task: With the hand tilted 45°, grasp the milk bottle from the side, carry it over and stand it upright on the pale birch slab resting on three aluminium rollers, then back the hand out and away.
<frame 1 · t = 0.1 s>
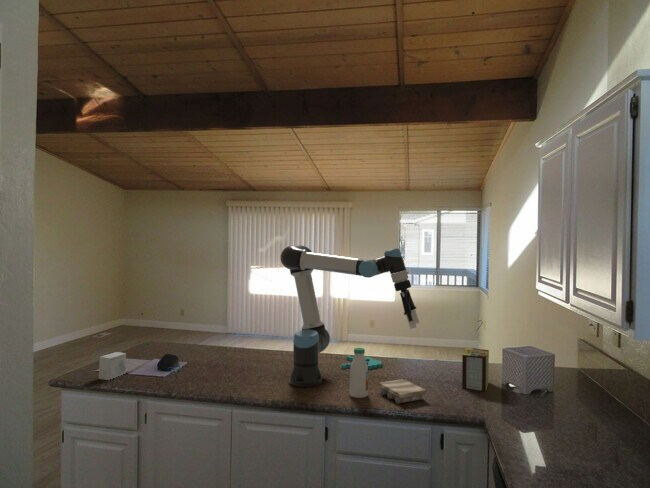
hand: (415, 325, 197), 28 cm above the worktop, tool tilted 20°, fingers open, 13 cm apart
skincare box: (112, 377, 204), on the worktop
milk bottle: (358, 395, 183), on the worktop
roller slab: (401, 396, 182), on the worktop
alien figure: (362, 366, 231), on the worktop
protein box: (475, 385, 199), on the worktop
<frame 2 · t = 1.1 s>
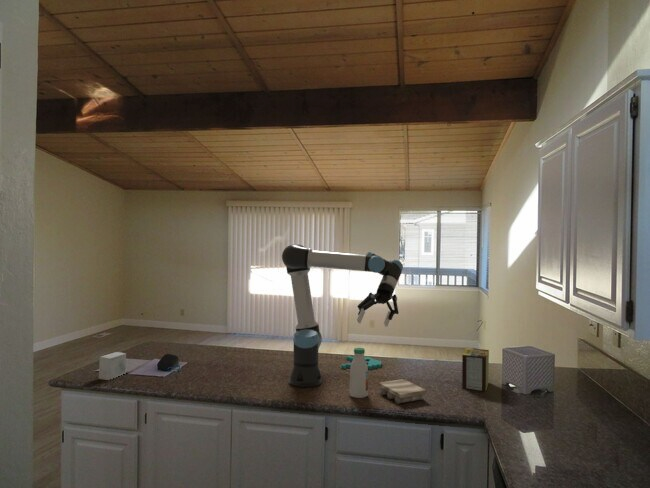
hand: (371, 323, 192), 29 cm above the worktop, tool tilted 45°, fingers open, 13 cm apart
nothing on the worktop moved.
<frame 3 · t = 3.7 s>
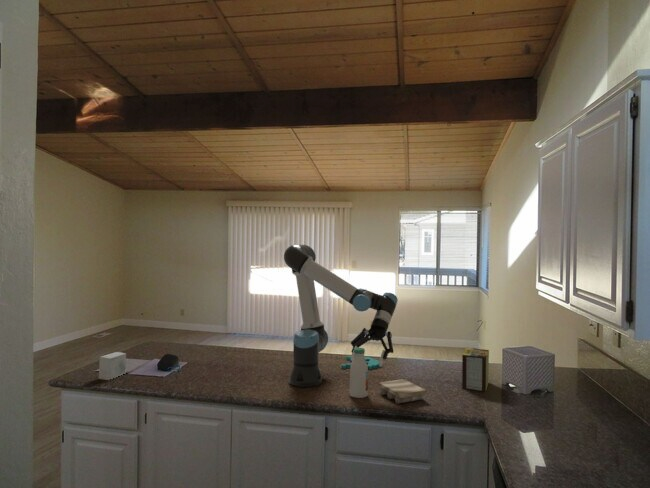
hand: (365, 362, 185), 14 cm above the worktop, tool tilted 45°, fingers open, 13 cm apart
nothing on the worktop moved.
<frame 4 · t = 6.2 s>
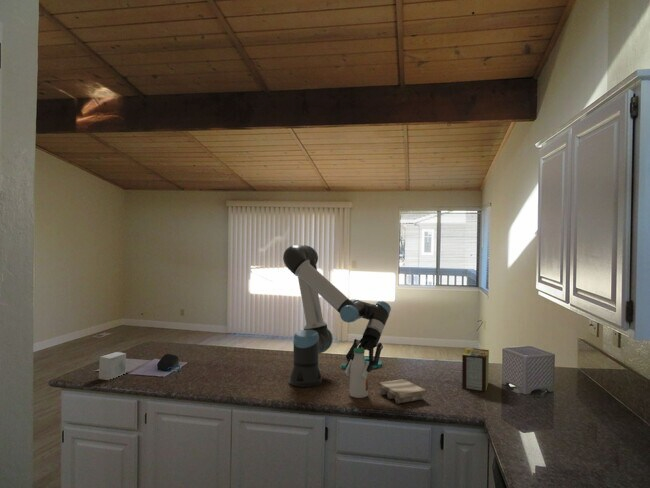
hand: (354, 376, 180), 9 cm above the worktop, tool tilted 45°, fingers closed on milk bottle, 7 cm apart
milk bottle: (358, 395, 183), on the worktop, touching gripper
everything else where it was.
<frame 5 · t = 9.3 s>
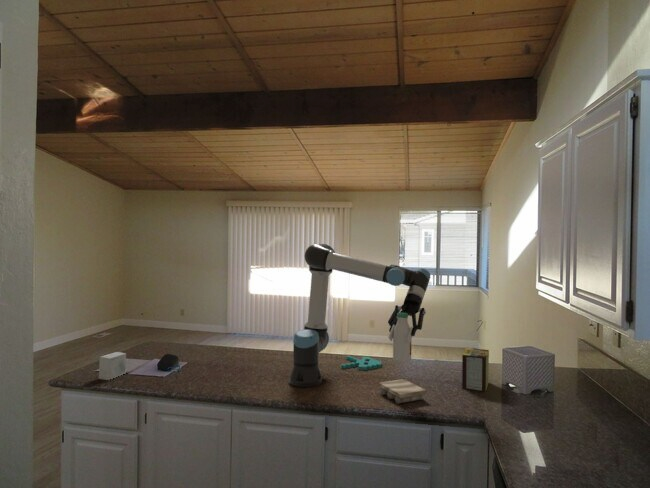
hand: (398, 340, 179), 25 cm above the worktop, tool tilted 45°, fingers closed on milk bottle, 7 cm apart
milk bottle: (402, 360, 182), point 15 cm above the worktop, touching gripper
everything else where it was.
when the fingers open (14 cm above the worktop, at t = 12.5 s): milk bottle stays where it is, resting on roller slab.
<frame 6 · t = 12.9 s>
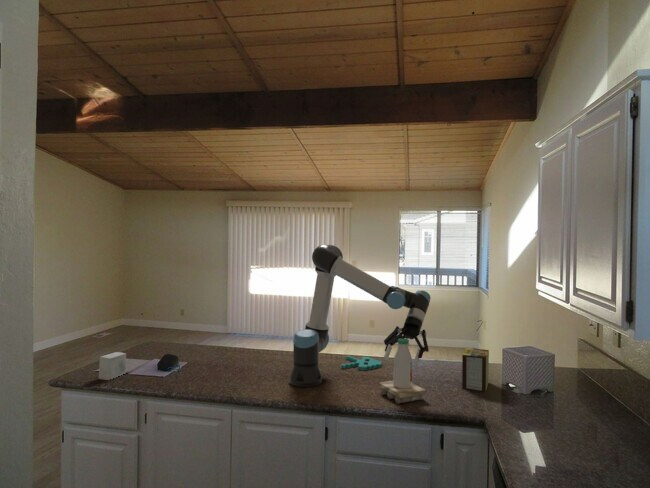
hand: (400, 361, 180), 16 cm above the worktop, tool tilted 45°, fingers open, 13 cm apart
milk bottle: (402, 386, 182), point 4 cm above the worktop, touching roller slab
everything else where it was.
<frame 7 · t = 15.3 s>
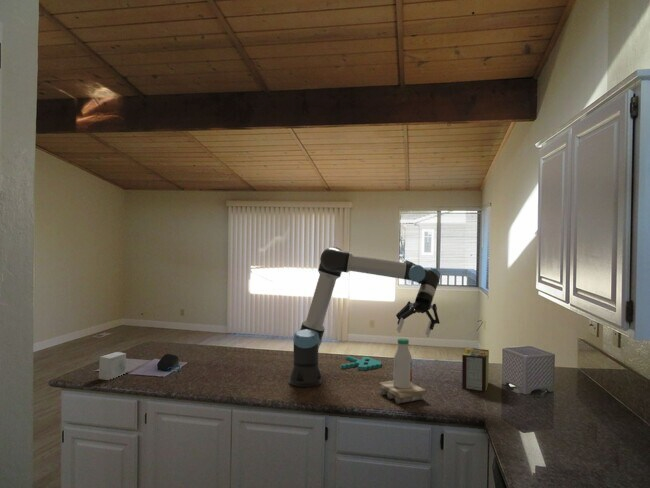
hand: (412, 332, 191), 26 cm above the worktop, tool tilted 45°, fingers open, 13 cm apart
nothing on the worktop moved.
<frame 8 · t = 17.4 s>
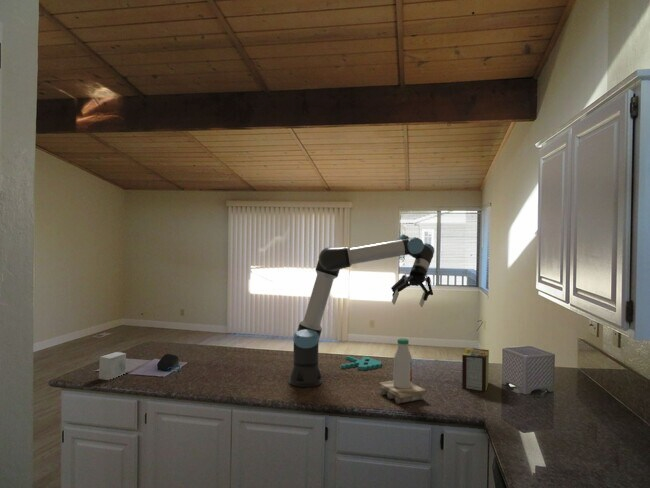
hand: (406, 304, 196), 38 cm above the worktop, tool tilted 45°, fingers open, 13 cm apart
nothing on the worktop moved.
at the end: milk bottle inside the target area on the roller slab (0.1 cm from its centre), point 4.3 cm above the roller slab's base; milk bottle tilted 0°; the gripper is holding nothing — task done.
